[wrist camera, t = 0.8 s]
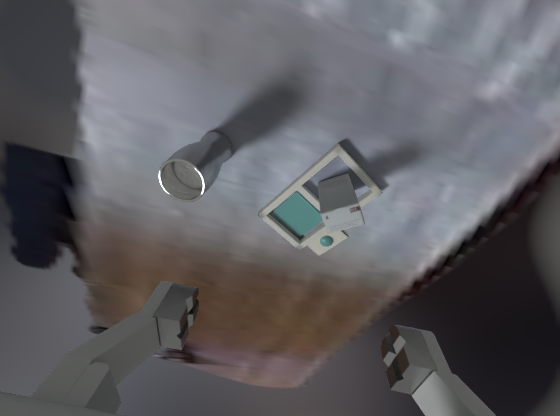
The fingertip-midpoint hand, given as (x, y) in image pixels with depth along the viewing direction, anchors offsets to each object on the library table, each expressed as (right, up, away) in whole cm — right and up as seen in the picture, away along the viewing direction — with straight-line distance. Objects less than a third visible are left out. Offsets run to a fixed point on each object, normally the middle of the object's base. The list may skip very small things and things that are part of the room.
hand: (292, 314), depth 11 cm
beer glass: (-12, +16, +37) cm, 42 cm away
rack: (+9, +4, +41) cm, 42 cm away
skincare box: (+10, +9, +39) cm, 41 cm away
